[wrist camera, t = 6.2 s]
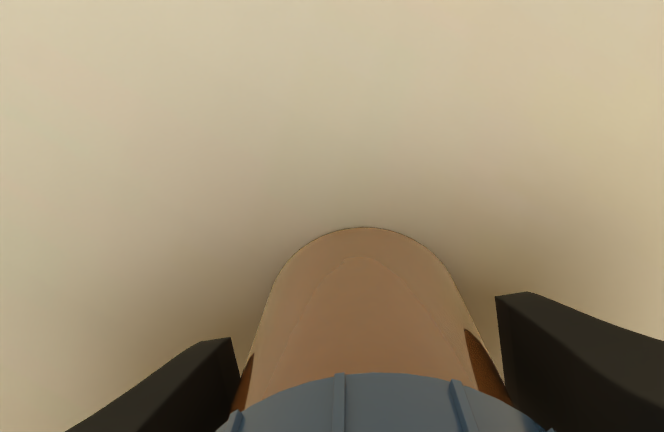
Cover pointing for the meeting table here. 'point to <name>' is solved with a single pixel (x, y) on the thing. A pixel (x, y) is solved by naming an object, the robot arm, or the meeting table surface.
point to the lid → (380, 407)
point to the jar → (364, 318)
